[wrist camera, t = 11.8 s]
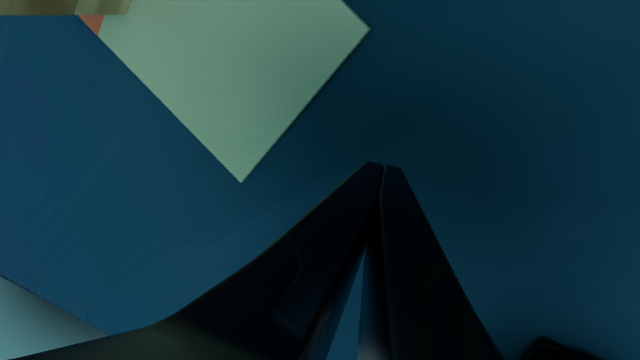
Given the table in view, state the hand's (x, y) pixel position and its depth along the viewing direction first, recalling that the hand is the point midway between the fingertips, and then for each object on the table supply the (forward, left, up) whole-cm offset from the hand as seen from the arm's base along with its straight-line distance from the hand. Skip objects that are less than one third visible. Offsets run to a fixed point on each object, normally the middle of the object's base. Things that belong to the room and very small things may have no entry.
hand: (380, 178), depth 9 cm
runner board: (-1, +13, -11) cm, 17 cm away
